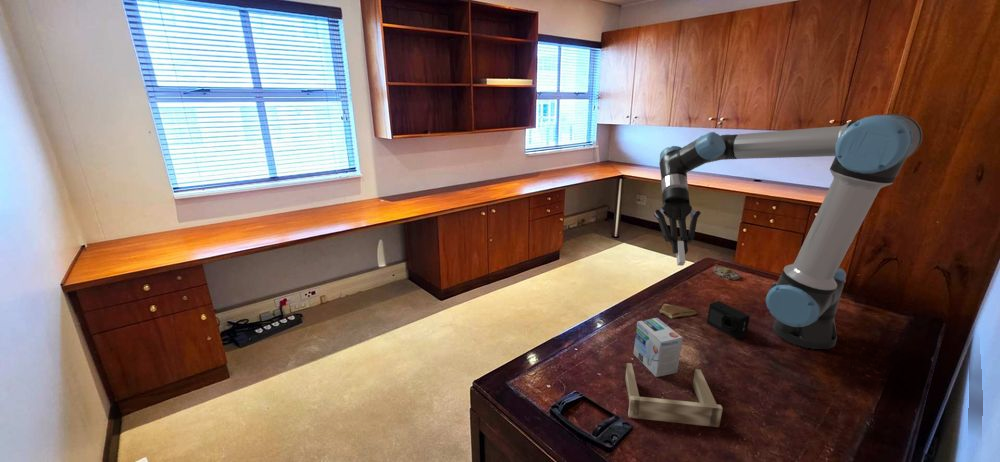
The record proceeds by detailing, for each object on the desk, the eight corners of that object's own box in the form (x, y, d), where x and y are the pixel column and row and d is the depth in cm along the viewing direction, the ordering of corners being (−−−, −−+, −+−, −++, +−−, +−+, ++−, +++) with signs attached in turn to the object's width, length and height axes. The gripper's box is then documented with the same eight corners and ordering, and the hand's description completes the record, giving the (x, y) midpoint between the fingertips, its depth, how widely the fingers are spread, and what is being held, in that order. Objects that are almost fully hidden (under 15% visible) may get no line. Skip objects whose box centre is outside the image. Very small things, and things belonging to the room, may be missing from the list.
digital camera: (703, 323, 128) (706, 304, 126) (715, 319, 130) (718, 300, 128) (733, 340, 119) (737, 319, 117) (745, 336, 121) (750, 315, 119)
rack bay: (700, 386, 100) (703, 369, 99) (719, 427, 88) (722, 408, 87) (622, 379, 104) (623, 362, 102) (628, 417, 91) (630, 399, 90)
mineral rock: (746, 272, 158) (735, 271, 154) (743, 283, 159) (731, 282, 155) (721, 264, 168) (709, 263, 164) (718, 274, 168) (706, 273, 164)
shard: (698, 315, 134) (698, 310, 133) (693, 325, 128) (694, 320, 127) (663, 306, 139) (664, 302, 139) (658, 316, 134) (658, 311, 133)
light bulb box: (632, 354, 114) (636, 320, 110) (653, 349, 115) (657, 316, 112) (656, 378, 104) (661, 342, 100) (678, 373, 106) (684, 337, 102)
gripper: (694, 199, 126) (701, 269, 116) (650, 198, 129) (654, 267, 118) (701, 186, 120) (710, 260, 110) (655, 185, 122) (660, 257, 112)
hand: (681, 263), depth 114 cm, fingers closed
